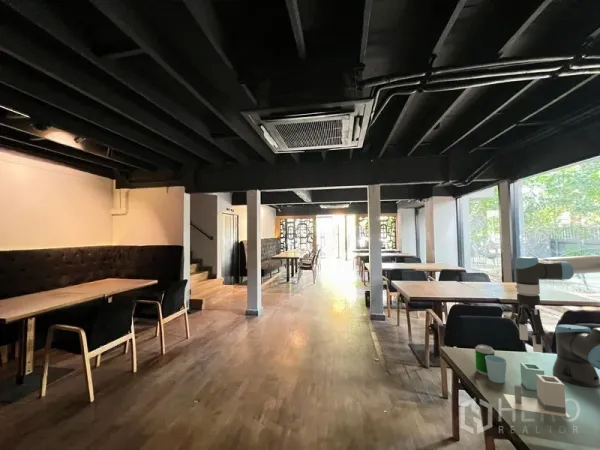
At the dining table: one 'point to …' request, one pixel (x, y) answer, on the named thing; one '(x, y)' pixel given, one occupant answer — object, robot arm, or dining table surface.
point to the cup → (496, 368)
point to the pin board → (527, 403)
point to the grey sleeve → (551, 393)
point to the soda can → (482, 358)
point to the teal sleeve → (530, 375)
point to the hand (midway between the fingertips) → (530, 345)
